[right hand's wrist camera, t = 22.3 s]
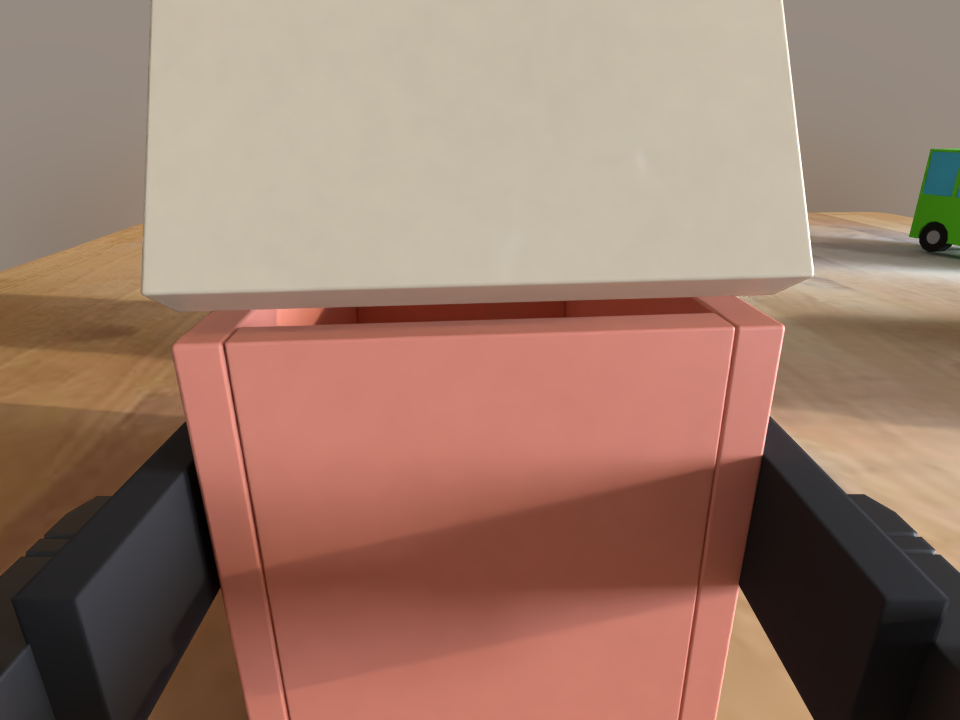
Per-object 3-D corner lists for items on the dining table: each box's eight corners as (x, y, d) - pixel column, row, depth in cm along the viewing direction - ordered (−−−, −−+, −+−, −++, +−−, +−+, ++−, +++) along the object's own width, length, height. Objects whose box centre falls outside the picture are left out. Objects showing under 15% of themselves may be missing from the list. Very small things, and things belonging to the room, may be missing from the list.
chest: (352, 451, 25) (328, 212, 22) (575, 441, 26) (587, 206, 22) (261, 794, 12) (166, 344, 9) (709, 763, 13) (788, 325, 9)
